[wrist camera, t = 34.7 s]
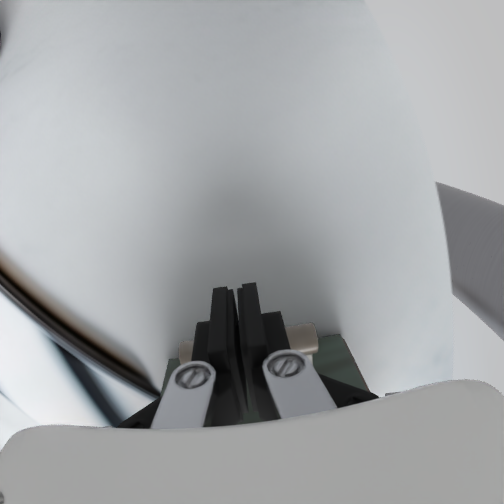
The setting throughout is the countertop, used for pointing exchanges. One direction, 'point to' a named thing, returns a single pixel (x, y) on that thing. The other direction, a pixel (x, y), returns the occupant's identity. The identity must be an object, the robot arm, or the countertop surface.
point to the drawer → (300, 339)
